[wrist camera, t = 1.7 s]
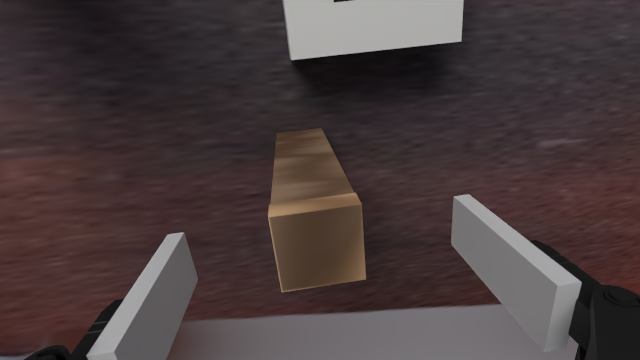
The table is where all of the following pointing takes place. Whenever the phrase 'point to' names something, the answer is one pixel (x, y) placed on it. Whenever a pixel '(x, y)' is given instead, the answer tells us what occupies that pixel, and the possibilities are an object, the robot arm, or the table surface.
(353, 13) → the socket block
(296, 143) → the bronze peg
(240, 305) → the table surface
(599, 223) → the table surface
